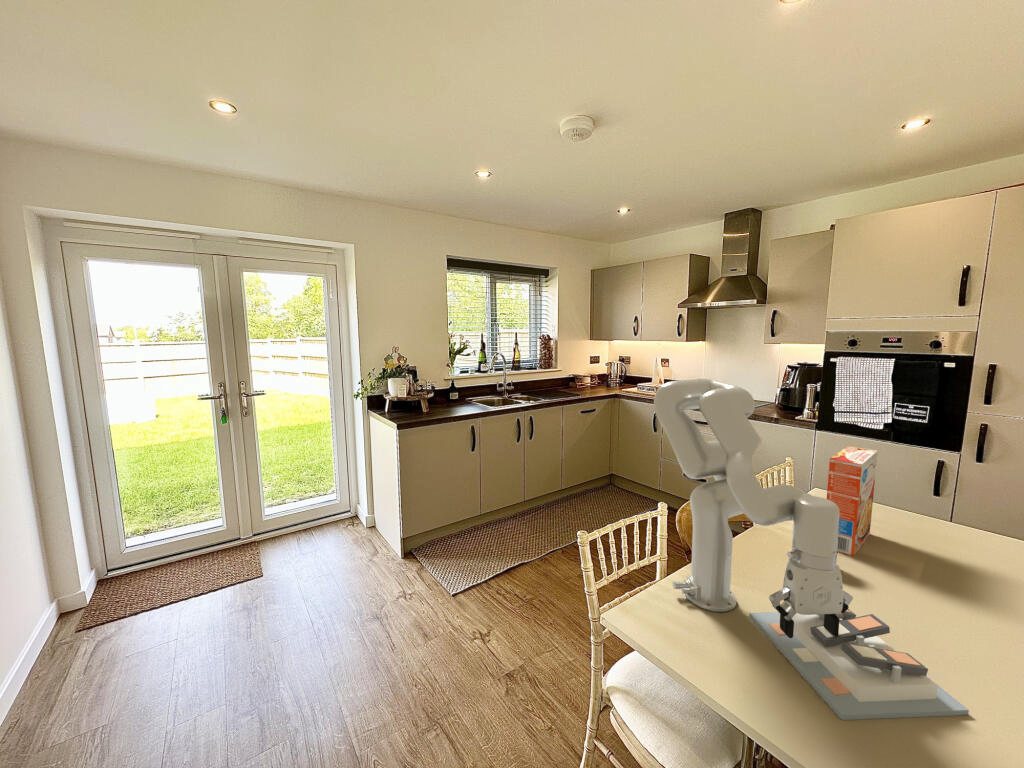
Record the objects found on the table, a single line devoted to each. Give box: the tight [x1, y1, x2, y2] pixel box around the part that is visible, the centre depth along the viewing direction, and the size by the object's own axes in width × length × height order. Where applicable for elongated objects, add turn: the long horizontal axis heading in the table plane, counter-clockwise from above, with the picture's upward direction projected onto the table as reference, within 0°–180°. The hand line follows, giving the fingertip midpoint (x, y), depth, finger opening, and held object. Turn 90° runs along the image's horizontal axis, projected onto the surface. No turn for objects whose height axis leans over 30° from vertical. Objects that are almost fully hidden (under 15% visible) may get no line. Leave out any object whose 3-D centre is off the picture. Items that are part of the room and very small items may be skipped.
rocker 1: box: [843, 608, 857, 619], centre depth 97 cm, size 14×4×2 cm, turn 92°
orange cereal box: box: [826, 445, 878, 557], centre depth 139 cm, size 23×8×30 cm, turn 130°
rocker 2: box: [810, 613, 891, 647], centre depth 89 cm, size 14×4×2 cm, turn 92°
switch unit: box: [748, 606, 970, 721], centre depth 89 cm, size 24×28×7 cm
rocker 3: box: [841, 642, 929, 676], centre depth 81 cm, size 14×4×2 cm, turn 92°
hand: (808, 632), depth 88 cm, fingers open, 9 cm apart
